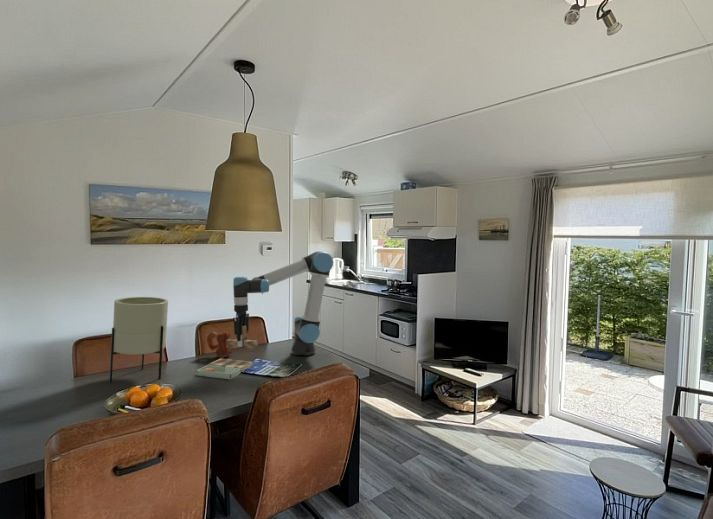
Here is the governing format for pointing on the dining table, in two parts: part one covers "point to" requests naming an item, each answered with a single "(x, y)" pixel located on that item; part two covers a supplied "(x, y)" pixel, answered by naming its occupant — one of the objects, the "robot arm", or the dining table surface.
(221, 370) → the tray
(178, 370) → the dining table surface
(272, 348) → the dining table surface
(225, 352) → the reddish brown curved figurine
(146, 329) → the planter
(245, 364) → the board
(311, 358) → the dining table surface
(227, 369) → the tile
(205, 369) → the tile
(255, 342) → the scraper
